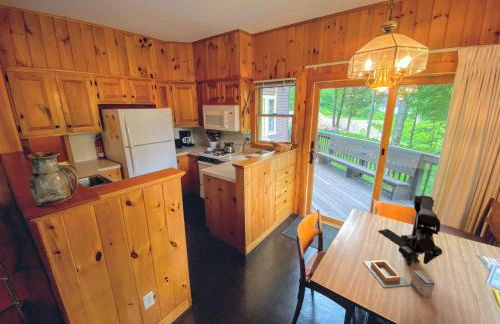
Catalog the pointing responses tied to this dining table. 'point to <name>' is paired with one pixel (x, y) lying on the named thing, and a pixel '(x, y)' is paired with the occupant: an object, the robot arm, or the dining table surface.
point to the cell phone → (392, 237)
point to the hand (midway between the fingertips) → (416, 264)
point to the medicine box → (422, 284)
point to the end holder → (385, 273)
